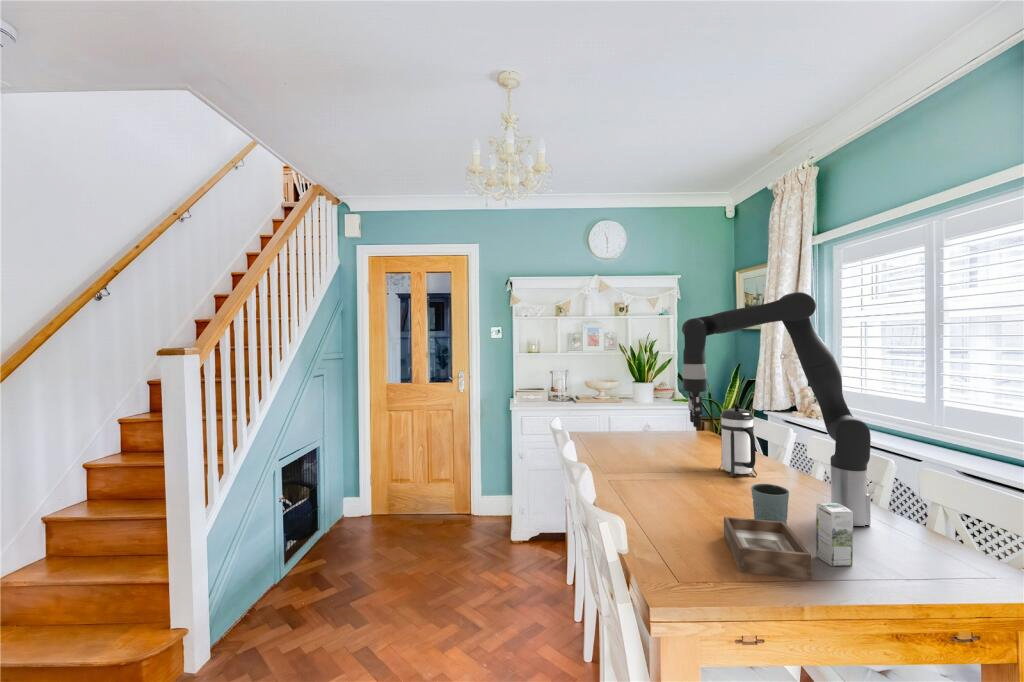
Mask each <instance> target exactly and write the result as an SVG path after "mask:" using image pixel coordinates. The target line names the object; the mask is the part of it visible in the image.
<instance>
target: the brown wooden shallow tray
mask: <svg viewBox="0 0 1024 682" xmlns="http://www.w3.org/2000/svg"><path fill="white" fill-rule="evenodd" d="M723 538H724V540H725V542H727V543H726V545H727V547H728V549H729V551H731V552H730V554H731V556H732V558H733V560H734V563H735V565H736V568H737V569H738V572H740V573H745V574H746V573H747V574H757V575H765V576H766V575H767V576H774V577H775V576H776V577H786V578H796V579H803V580H812V576H813V575H812V554H811V553H810V551H808V549H807V548H806V546H805V545H804V544H803V543H802V542H801V541H800V539H799V538H798V537H797V535H796V534H795V533H794V532H793V531H792V529H791V527H789V525H788V523H787V524H786V523H785V522H783V521H770V520H757V519H754V518H742V517H741V518H740V517H730V516H723Z"/></svg>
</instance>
